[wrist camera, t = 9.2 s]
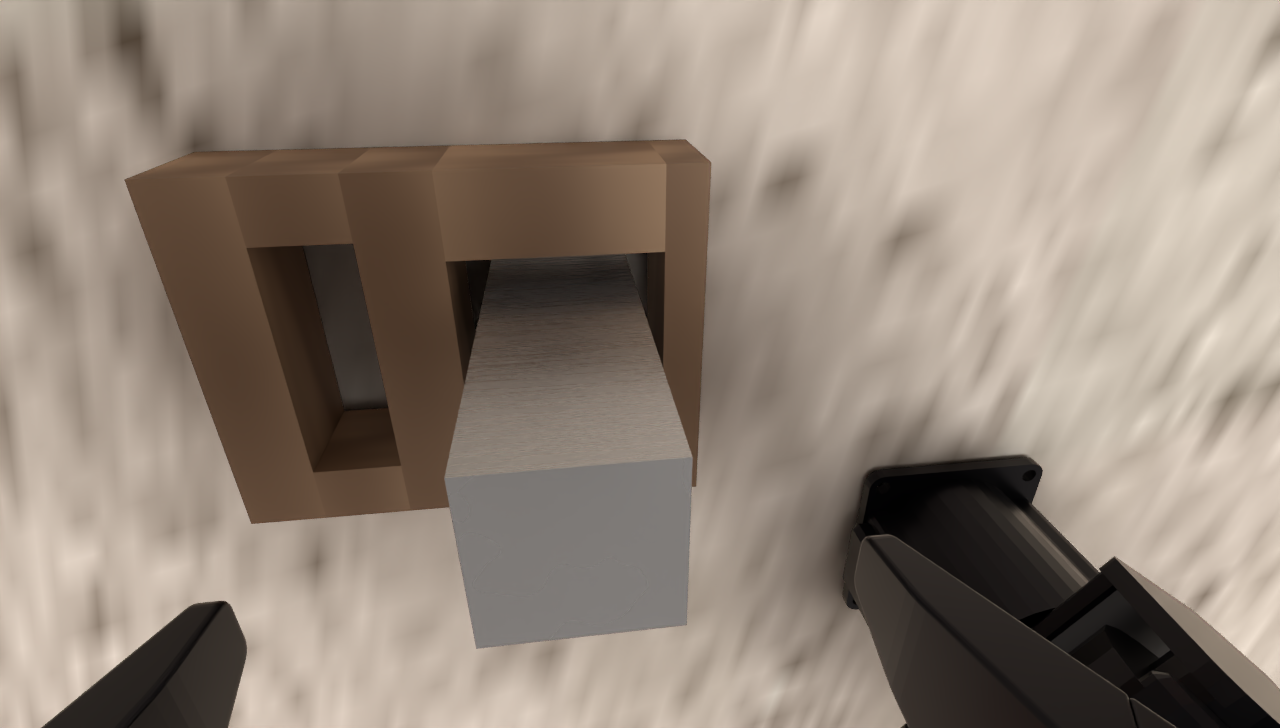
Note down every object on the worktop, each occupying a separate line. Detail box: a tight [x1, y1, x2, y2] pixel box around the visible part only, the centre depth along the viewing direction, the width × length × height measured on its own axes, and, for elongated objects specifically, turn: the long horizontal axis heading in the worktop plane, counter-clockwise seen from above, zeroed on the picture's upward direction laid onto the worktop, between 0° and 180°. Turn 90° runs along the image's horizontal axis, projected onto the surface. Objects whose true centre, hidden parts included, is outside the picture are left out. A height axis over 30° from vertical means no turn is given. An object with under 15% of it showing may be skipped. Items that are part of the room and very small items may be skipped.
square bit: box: [444, 254, 693, 649], centre depth 14 cm, size 4×4×10 cm
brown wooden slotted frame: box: [125, 140, 711, 524], centre depth 17 cm, size 12×9×3 cm
